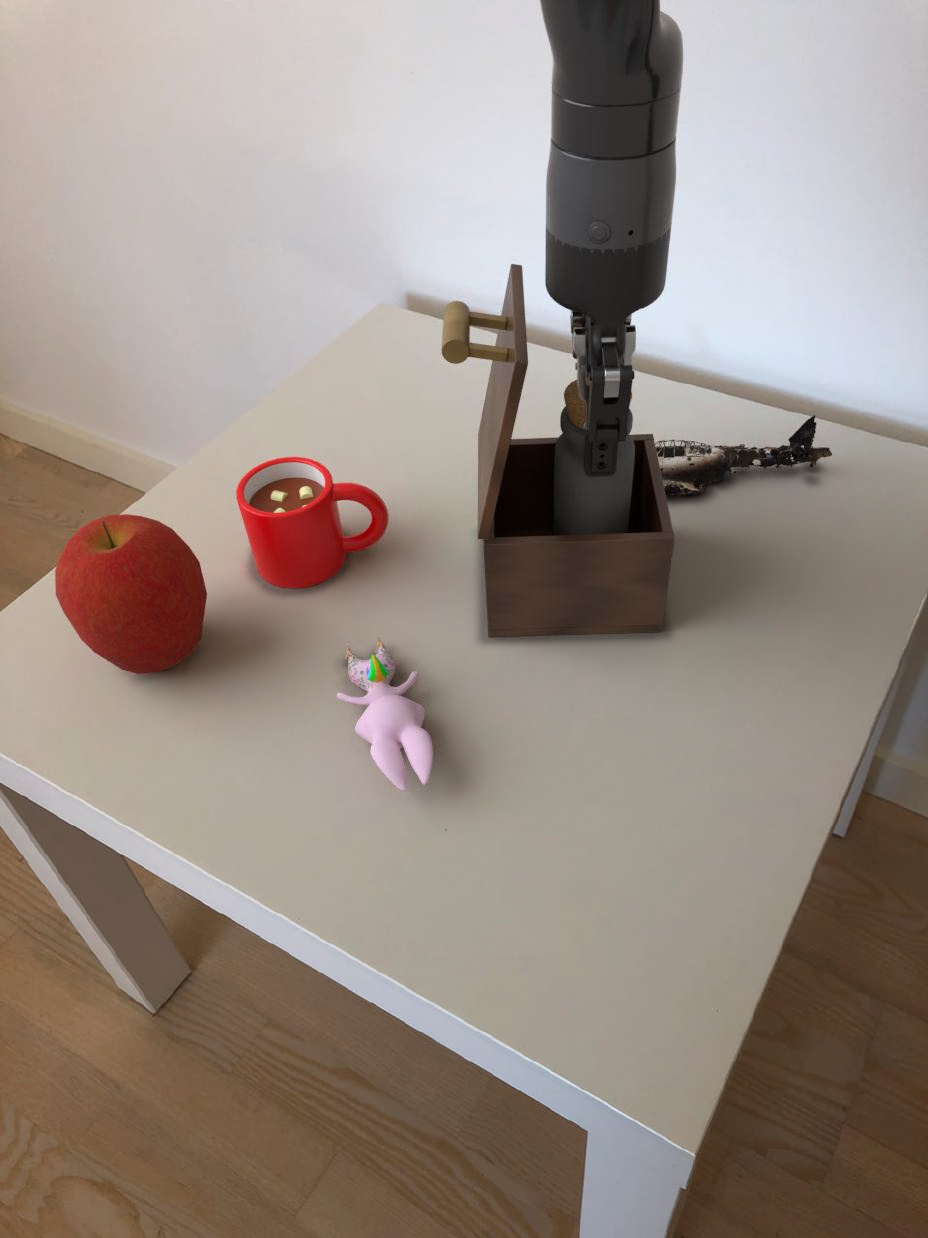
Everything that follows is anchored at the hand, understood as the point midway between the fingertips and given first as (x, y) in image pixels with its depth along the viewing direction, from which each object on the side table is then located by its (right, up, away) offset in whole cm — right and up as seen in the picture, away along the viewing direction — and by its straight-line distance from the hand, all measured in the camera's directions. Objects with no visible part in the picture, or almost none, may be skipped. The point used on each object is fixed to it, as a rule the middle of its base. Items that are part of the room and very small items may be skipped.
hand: (595, 445), depth 69 cm
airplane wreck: (+14, 0, +18) cm, 23 cm away
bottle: (+1, -7, +8) cm, 11 cm away
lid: (-7, +2, -2) cm, 7 cm away
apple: (-34, -15, +7) cm, 38 cm away
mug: (-22, -7, +14) cm, 27 cm away
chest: (-1, -9, +10) cm, 14 cm away
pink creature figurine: (-15, -21, +1) cm, 26 cm away
